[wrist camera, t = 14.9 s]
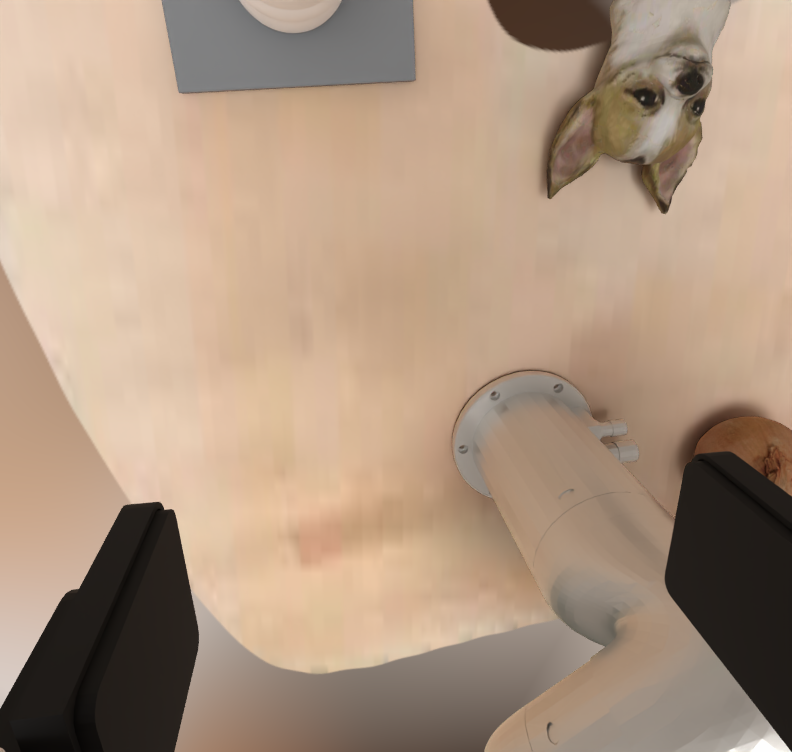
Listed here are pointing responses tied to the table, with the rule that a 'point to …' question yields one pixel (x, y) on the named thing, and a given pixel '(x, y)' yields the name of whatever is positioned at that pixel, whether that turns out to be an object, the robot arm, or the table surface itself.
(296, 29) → the water bottle
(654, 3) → the ceramic sculpture
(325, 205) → the table surface
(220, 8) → the slate mat
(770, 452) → the onion
